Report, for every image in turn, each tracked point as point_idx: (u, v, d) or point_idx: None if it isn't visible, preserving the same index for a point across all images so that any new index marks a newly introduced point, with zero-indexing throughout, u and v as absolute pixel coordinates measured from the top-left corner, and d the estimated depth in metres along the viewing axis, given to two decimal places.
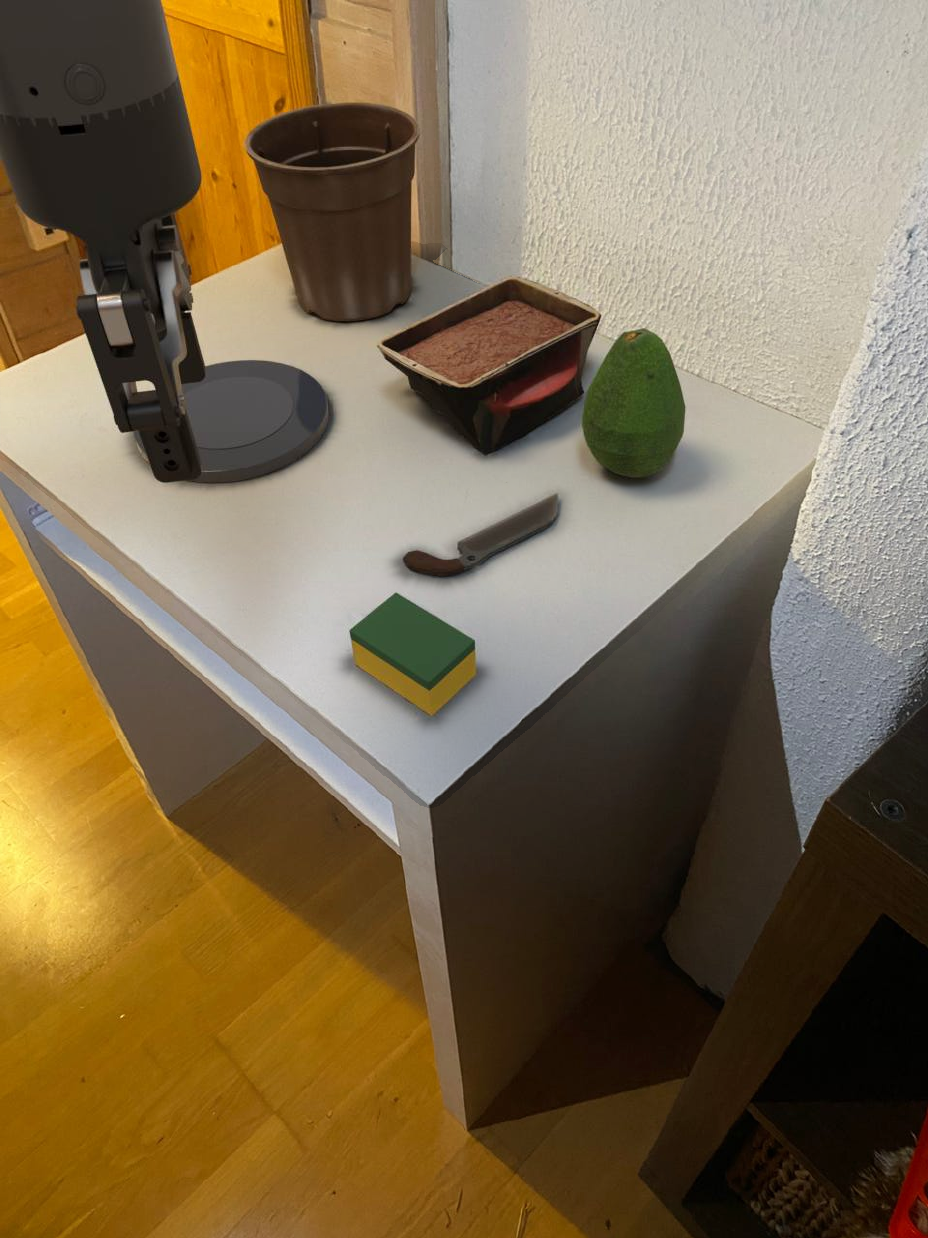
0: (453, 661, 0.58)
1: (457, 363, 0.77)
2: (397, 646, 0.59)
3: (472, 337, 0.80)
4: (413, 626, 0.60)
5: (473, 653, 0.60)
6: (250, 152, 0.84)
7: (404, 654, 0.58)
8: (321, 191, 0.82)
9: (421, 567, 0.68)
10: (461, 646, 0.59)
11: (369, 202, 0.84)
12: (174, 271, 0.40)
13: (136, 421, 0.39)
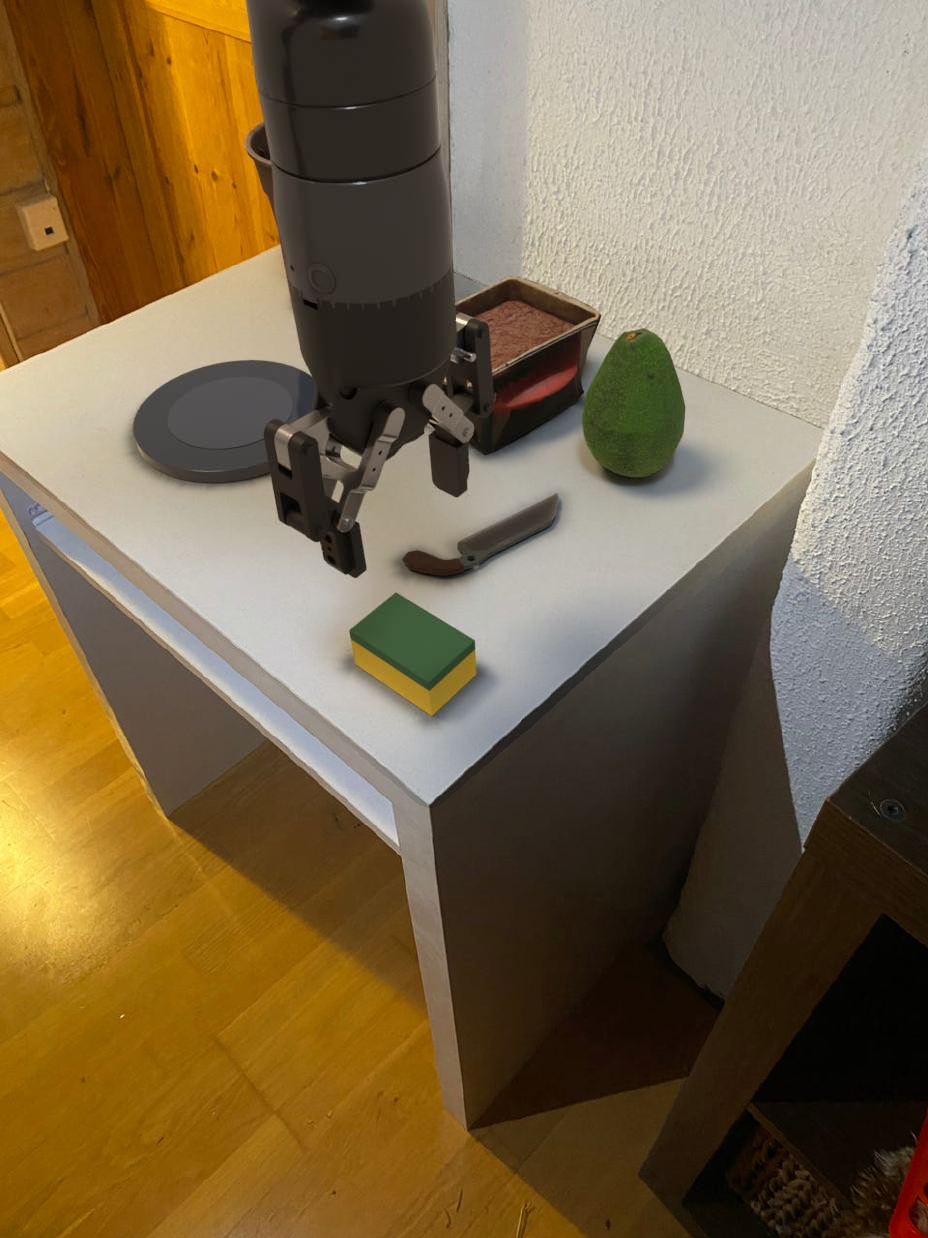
0: (453, 661, 0.58)
1: None
2: (397, 646, 0.59)
3: None
4: (413, 626, 0.60)
5: (473, 653, 0.60)
6: (250, 152, 0.84)
7: (404, 654, 0.58)
8: None
9: (421, 567, 0.68)
10: (461, 646, 0.59)
11: None
12: (386, 425, 0.45)
13: (289, 522, 0.46)
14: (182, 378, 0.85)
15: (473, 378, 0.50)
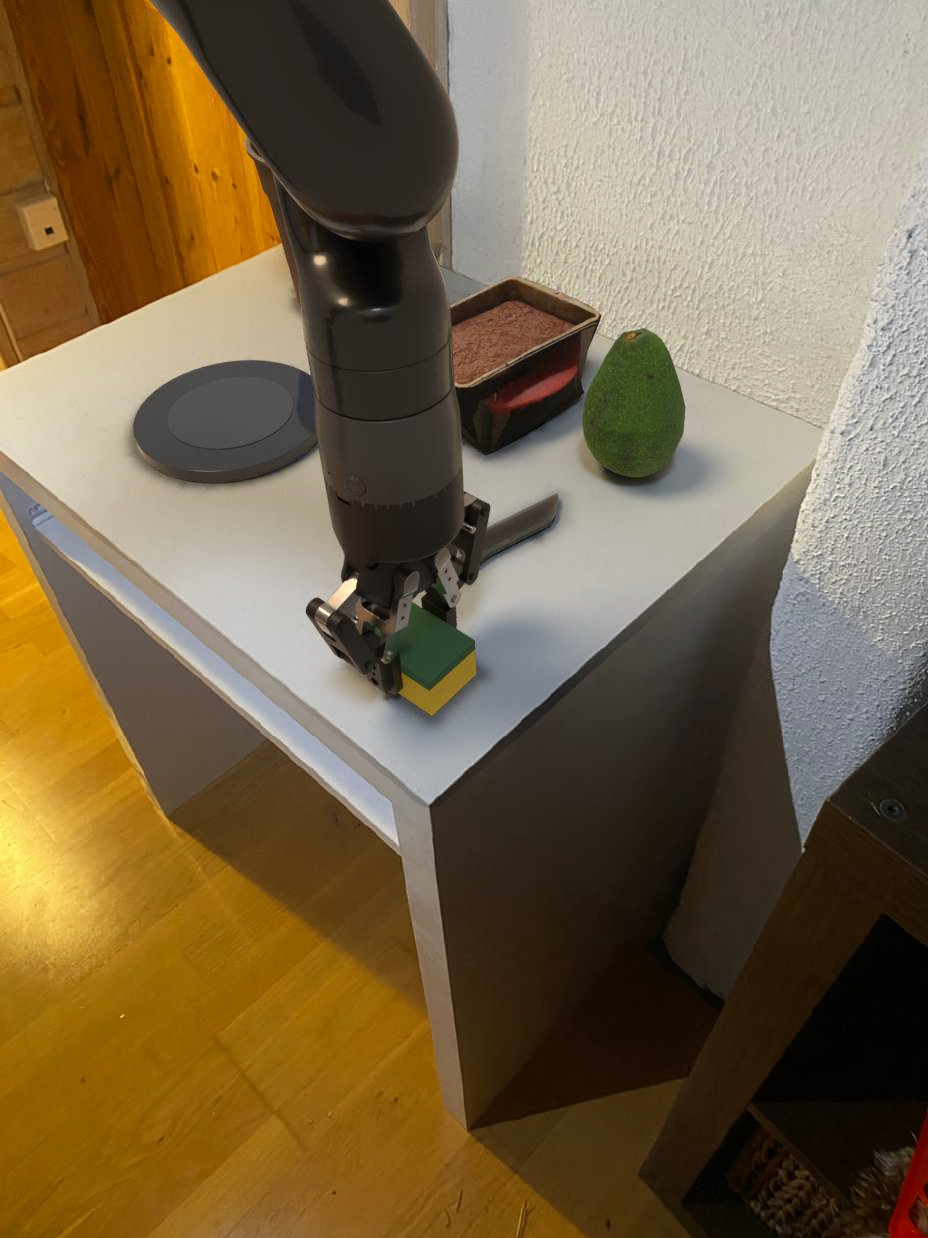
0: (453, 661, 0.58)
1: (457, 363, 0.77)
2: None
3: (472, 337, 0.80)
4: (413, 626, 0.60)
5: (473, 653, 0.60)
6: (250, 152, 0.84)
7: (404, 654, 0.58)
8: None
9: None
10: (461, 646, 0.59)
11: None
12: (405, 589, 0.53)
13: (343, 657, 0.55)
14: (182, 378, 0.85)
15: (468, 548, 0.58)
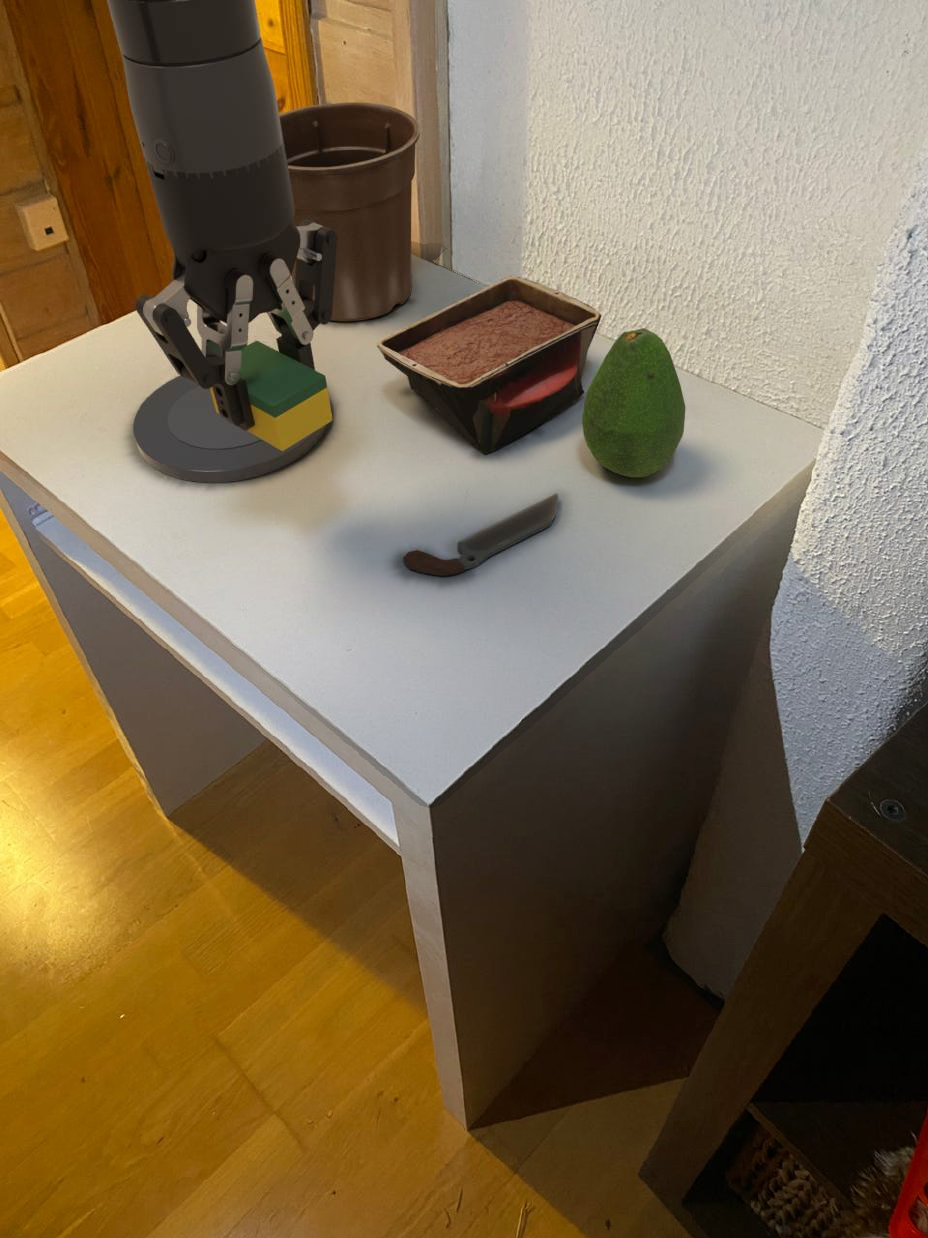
0: (301, 391, 0.59)
1: (457, 363, 0.77)
2: (248, 379, 0.60)
3: (472, 337, 0.80)
4: (267, 365, 0.61)
5: (325, 391, 0.60)
6: None
7: (253, 385, 0.59)
8: (321, 191, 0.82)
9: (421, 567, 0.68)
10: (311, 379, 0.59)
11: (369, 202, 0.84)
12: (236, 292, 0.53)
13: (184, 372, 0.56)
14: (182, 378, 0.85)
15: (317, 280, 0.59)
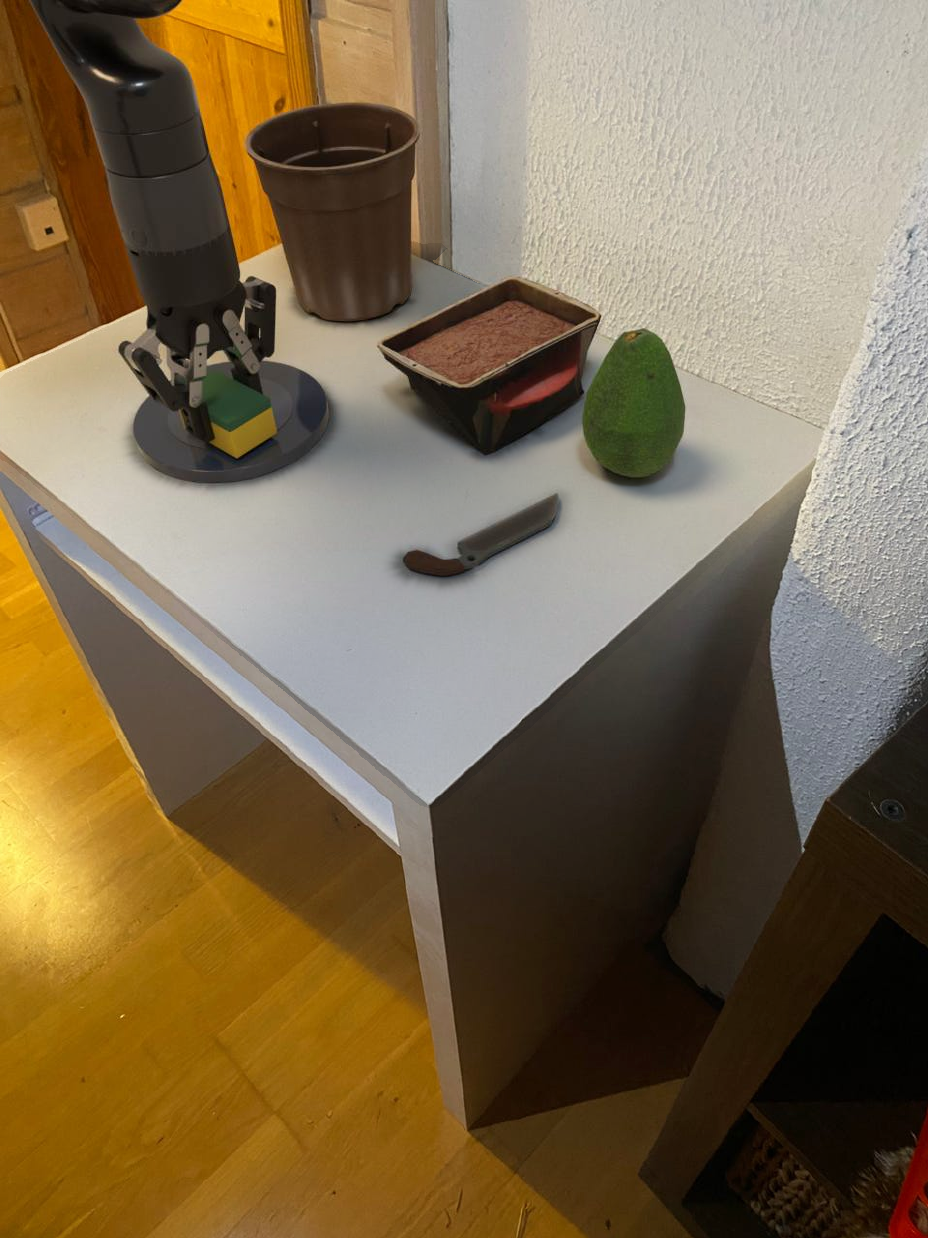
0: (250, 411, 0.75)
1: (457, 363, 0.77)
2: (208, 402, 0.76)
3: (472, 337, 0.80)
4: (223, 390, 0.77)
5: (270, 410, 0.76)
6: (250, 152, 0.84)
7: (212, 407, 0.75)
8: (321, 191, 0.82)
9: (421, 567, 0.68)
10: (258, 401, 0.75)
11: (369, 202, 0.84)
12: (196, 337, 0.69)
13: (157, 398, 0.72)
14: None
15: (261, 323, 0.75)
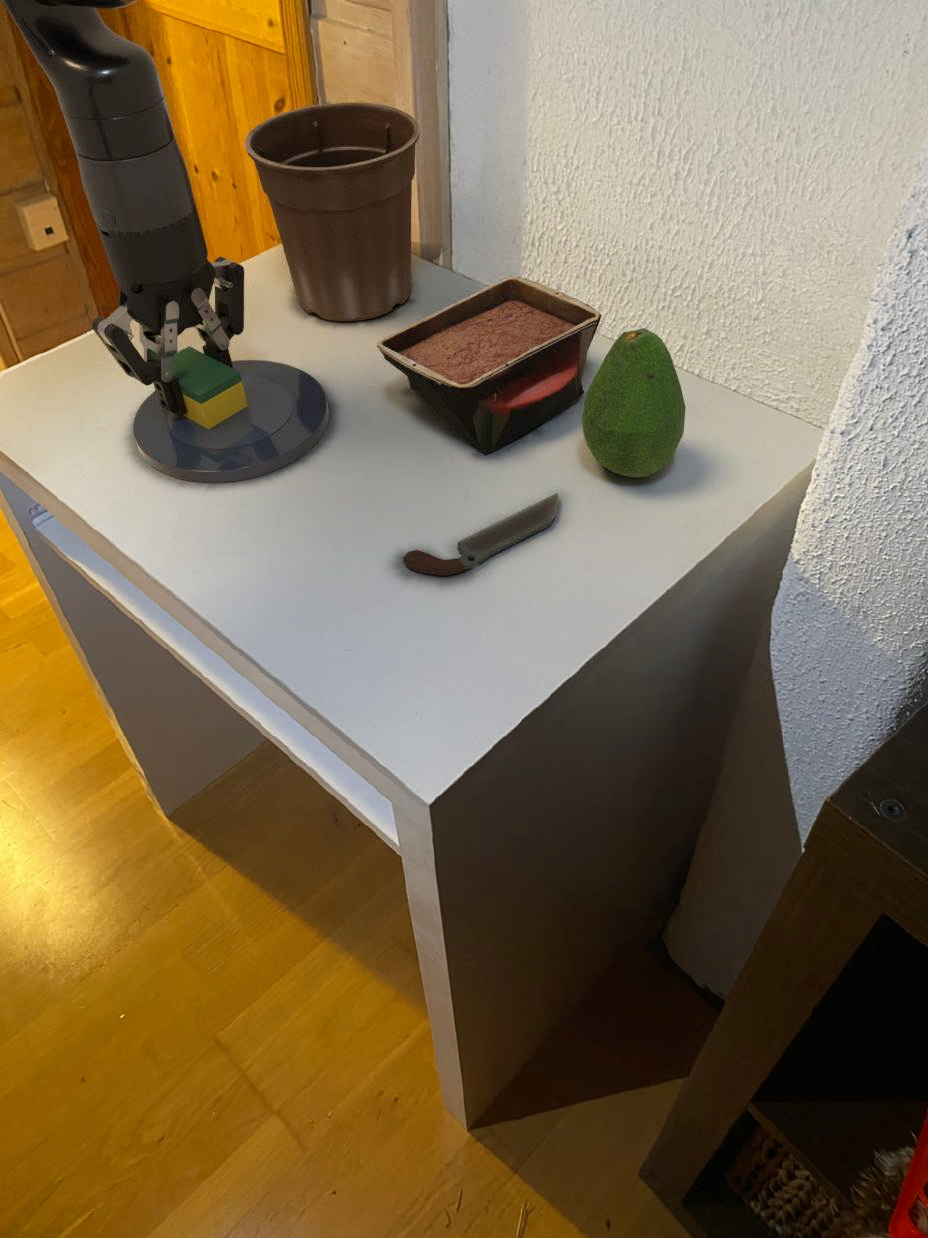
0: (220, 384, 0.78)
1: (457, 363, 0.77)
2: (181, 376, 0.79)
3: (472, 337, 0.80)
4: (196, 364, 0.80)
5: (240, 384, 0.80)
6: (250, 152, 0.84)
7: (185, 380, 0.79)
8: (321, 191, 0.82)
9: (421, 567, 0.68)
10: (228, 375, 0.79)
11: (369, 202, 0.84)
12: (166, 314, 0.73)
13: (130, 373, 0.76)
14: None
15: (230, 302, 0.78)
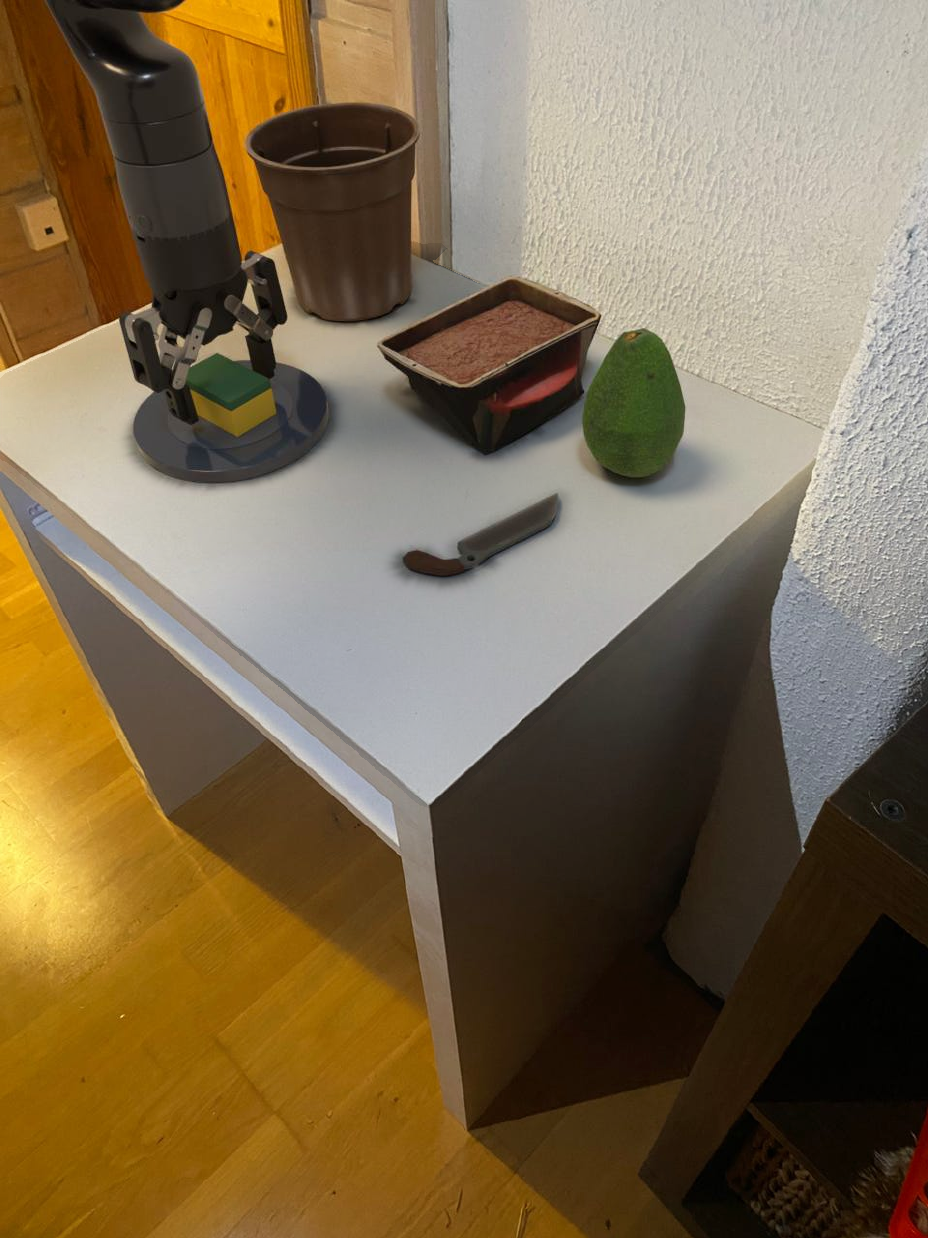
0: (250, 391, 0.77)
1: (457, 363, 0.77)
2: (210, 382, 0.78)
3: (472, 337, 0.80)
4: (225, 371, 0.79)
5: (270, 391, 0.79)
6: (250, 152, 0.84)
7: (214, 387, 0.78)
8: (321, 191, 0.82)
9: (421, 567, 0.68)
10: (258, 382, 0.78)
11: (369, 202, 0.84)
12: (198, 318, 0.72)
13: (141, 380, 0.73)
14: None
15: (268, 296, 0.78)
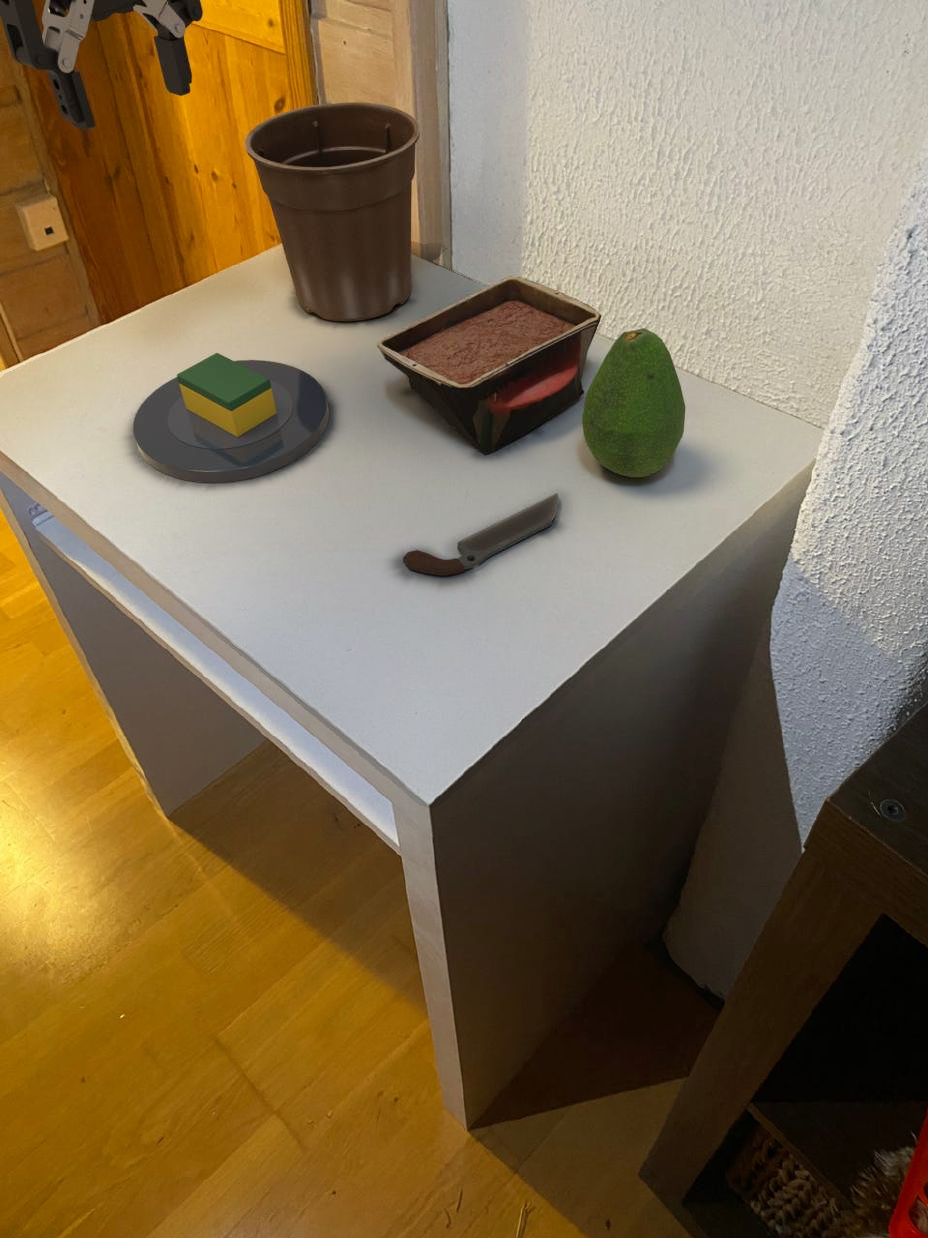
0: (250, 391, 0.77)
1: (457, 363, 0.77)
2: (210, 382, 0.78)
3: (472, 337, 0.80)
4: (225, 371, 0.79)
5: (270, 391, 0.79)
6: (250, 152, 0.84)
7: (214, 387, 0.78)
8: (321, 191, 0.82)
9: (421, 567, 0.68)
10: (258, 382, 0.78)
11: (369, 202, 0.84)
12: None
13: (18, 55, 0.61)
14: None
15: None
